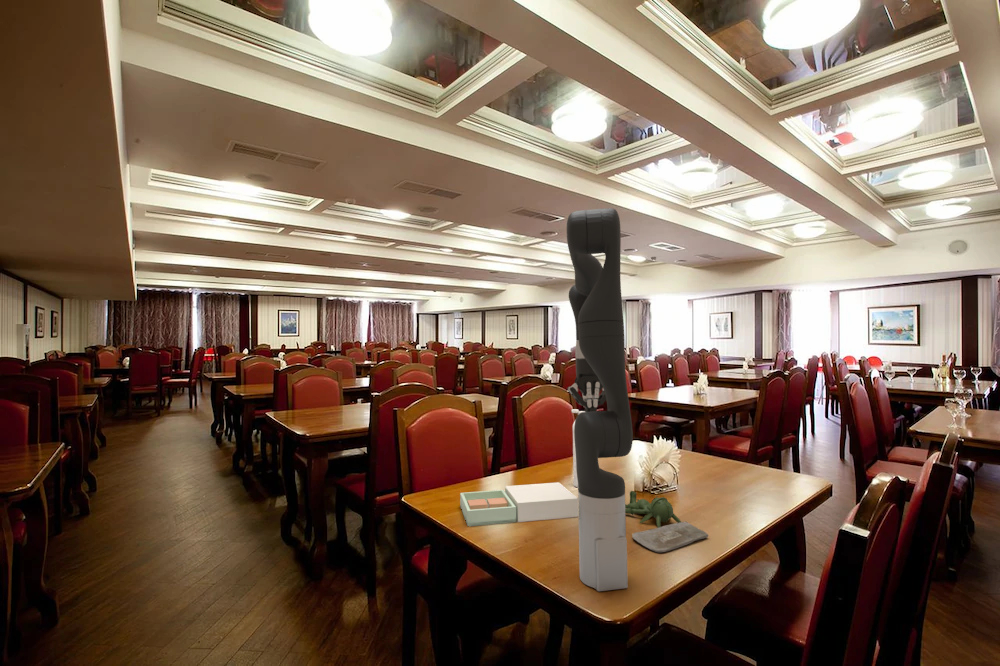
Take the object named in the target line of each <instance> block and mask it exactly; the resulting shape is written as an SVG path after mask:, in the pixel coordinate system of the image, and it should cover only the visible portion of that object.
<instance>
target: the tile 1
mask: <svg viewBox="0 0 1000 666" xmlns="http://www.w3.org/2000/svg"><path fill="white" fill-rule="evenodd" d="M467 503H468V506H469V508H470V510H473V509H486V508H488V504H487V502H486V500H485V499H476V500H467Z"/></svg>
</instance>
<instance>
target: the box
mask: <svg viewBox="0 0 1000 666" xmlns="http://www.w3.org/2000/svg"><path fill="white" fill-rule="evenodd" d="M459 497H460V500H459V504H460V505H459V507H460V509H462V510H461V512H462V515H463V517H464V520H466V521H465V522H466V526H467V527H468V526H469V527H477V526H488V525H489V526H490V525H500V524H501V525H502V524H512V523H517V520H516V506H515V505H514V504H513V502H512V501H511V499H510V498H509V497H508V495H507V494H506V493H505V489H496V490H495V489H494V490H493V489H492V490H481V491H469V492H466V491H465V492H460V494H459ZM491 498H505V500H506V501H507V503H508V507H498V508H486V509H473V510H470V508H469V506H468V503H467V500H476V499H485V500H486V502H487V499H491Z"/></svg>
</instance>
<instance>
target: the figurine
mask: <svg viewBox="0 0 1000 666" xmlns="http://www.w3.org/2000/svg"><path fill="white" fill-rule="evenodd" d="M625 514H629V515H632V516H633V515H634V514H639V515H640V514H641V515H644V516H643V518H641V520H640V521H639V522H638V523H639V524H643V523H645V522H647V521H649V520H650V519H651V518H652V517H653V518H654V519H655V521H656V523H655V525H656V526H657V527H656V528H659V527H662V525H661V523H665V524H666V523H667V522H669V520H671V519H673V520H674V521H675V523H680V522H682V521H681V519H680V518H679V517H678V516H677V515H675V513H674V508H673V505H672V503H671V502H670V501H669V500H668V499H667V498H666V497H663V496H662V497H658V495H656V497H654V498H653V499H652V501H651V502H649V500H647V499H644V498H641V499H639V498H637V492H636V491H634V490H631V491H630V492H629V503H628V504H626V503H625Z"/></svg>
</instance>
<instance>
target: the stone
mask: <svg viewBox="0 0 1000 666" xmlns="http://www.w3.org/2000/svg"><path fill="white" fill-rule="evenodd" d="M631 536H632V539H633V540H634V541H636V542H637V543H638V544H640V545H642V546H643V547H645V548H647V549H649V550H650V551H653V552H655V553H666V552H669V551H673V550H676V549H678V548H681V547H685V546H687V545H689V544H692V543H693V542H696V541H699V540H704V539H706V538H708V537H710V536H709V533H707V532H705V530H703V529H699V528H698V527H697V526H694V525H693V524H691V523H689V522H687V521H681V522H680V523H677V522H675V523H671V524H667V525H663V526H662V525H661V527H659V528H657V527H655V528H652V529H647V530H643V531H636V532H633V533H632V534H631Z"/></svg>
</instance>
